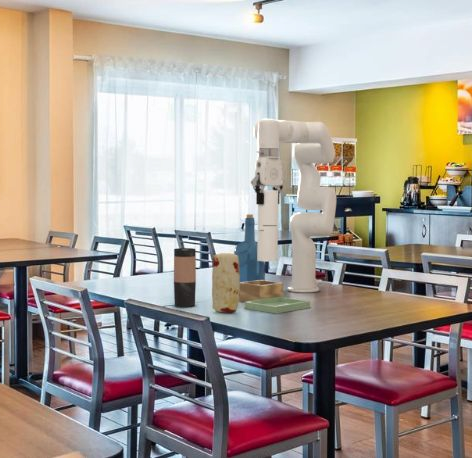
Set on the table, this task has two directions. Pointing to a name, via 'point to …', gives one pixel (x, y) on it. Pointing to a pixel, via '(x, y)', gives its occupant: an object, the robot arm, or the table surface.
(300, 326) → the table surface
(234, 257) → the food model
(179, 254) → the travel mug
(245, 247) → the wine bottle
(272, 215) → the cylindrical container
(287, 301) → the tray
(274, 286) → the crate
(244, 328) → the table surface
